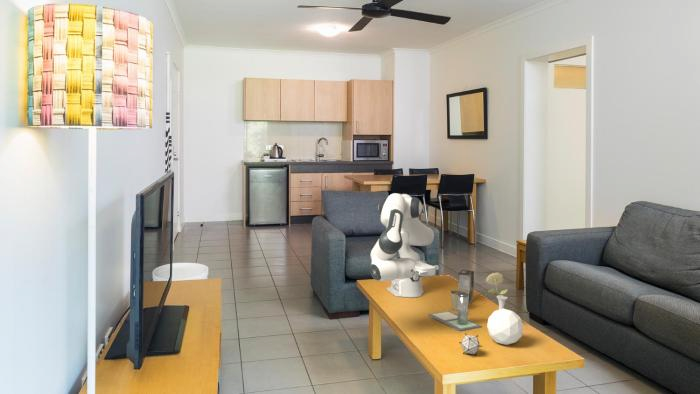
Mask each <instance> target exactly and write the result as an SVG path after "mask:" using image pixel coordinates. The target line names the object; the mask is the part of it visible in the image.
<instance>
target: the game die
mask: <svg viewBox="0 0 700 394" xmlns="http://www.w3.org/2000/svg"><path fill="white" fill-rule="evenodd" d="M464 335H465V336H464V337H463V339H462V340H461V341H459V344H460V345H461V348H462V351H463V353H462V354H463V355H464V354H470V355H474V356H475V357H476V356H477V352H478V351H479V349H480V348H482V347H483V345H481V344H480V341H479V339H478V337H479V334H477V335H471V334H467V333H466V332H465V333H464Z"/></svg>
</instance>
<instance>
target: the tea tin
mask: <svg viewBox="0 0 700 394" xmlns="http://www.w3.org/2000/svg"><path fill="white" fill-rule="evenodd" d="M468 296H469V294H468V293H458V310H457V324H459V325H467V320H469V319H468V318H469V317H468V315H469V312H468V311H469V304H468Z"/></svg>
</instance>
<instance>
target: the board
mask: <svg viewBox="0 0 700 394" xmlns="http://www.w3.org/2000/svg"><path fill="white" fill-rule="evenodd" d="M457 315H458V313H455V312H452V311H450V310H445V311H441V312H440V311H439V312H435V313H430V314H427V316H428V317H430V318H432V319H434V320H435V321H438V322H440V323H442V324H443V325H446V326H448V327H450V328H452V329H454V330H455V331H458V332H463V331H469V330H473V329H479V328H482V327H483V325H482V324H479V323H477V322H474V321H472V320H470V319H468V320H467V325H459V324H457Z"/></svg>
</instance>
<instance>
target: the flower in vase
mask: <svg viewBox="0 0 700 394" xmlns="http://www.w3.org/2000/svg"><path fill="white" fill-rule="evenodd" d="M503 276H504V275H503V274H500V273H499V272H495V273H494V272H492V273H490V274H489V275H488V276H487V277H486V279H485V281H486V284H488V285H490V286H495V289H494V288H493V289H490V290H488V291H487V293H489V294H492V295H493V294H495V293H498V295H496V297H495V298H496V299H497V301H498V310H501V309H505V304H506V301H507V299H508V296H506V295H504V294H506V293H507V292H508V288H507V289H504V290H503V289H502V290H501V291H500V292H499V291H498V288H497V287H498V285H500V284H502V282H503V281H504V277H503Z"/></svg>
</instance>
